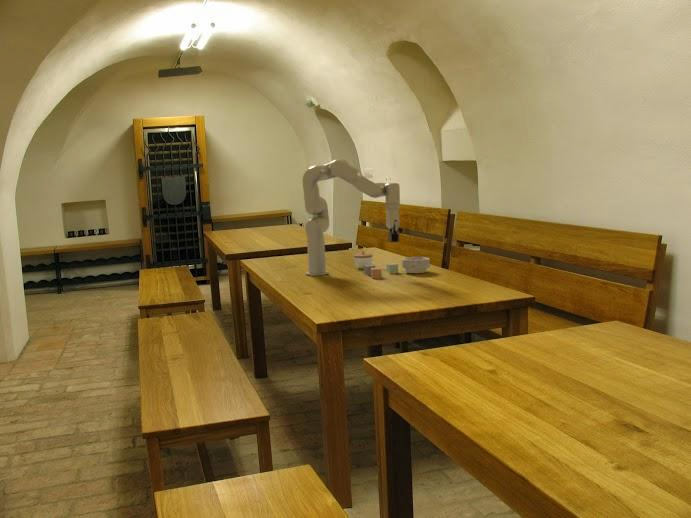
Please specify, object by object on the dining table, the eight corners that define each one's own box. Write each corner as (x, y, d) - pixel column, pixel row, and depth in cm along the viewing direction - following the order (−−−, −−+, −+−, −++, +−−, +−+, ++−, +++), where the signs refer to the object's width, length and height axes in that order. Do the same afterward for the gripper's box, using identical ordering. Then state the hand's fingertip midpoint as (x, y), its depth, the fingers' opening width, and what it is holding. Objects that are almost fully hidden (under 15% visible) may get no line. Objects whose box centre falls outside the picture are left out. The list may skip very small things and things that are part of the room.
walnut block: (387, 241, 378) (387, 231, 378) (396, 240, 379) (396, 231, 379) (390, 242, 374) (390, 232, 373) (399, 241, 374) (399, 232, 374)
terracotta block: (371, 277, 380) (371, 267, 379) (380, 276, 380) (380, 267, 379) (372, 278, 375) (371, 269, 374) (381, 278, 375) (381, 269, 374)
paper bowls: (422, 269, 398) (422, 255, 397) (434, 273, 384) (434, 259, 382) (397, 271, 393) (397, 257, 392) (408, 276, 379) (408, 261, 378)
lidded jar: (376, 267, 411) (375, 251, 410) (366, 270, 402) (366, 253, 401) (360, 265, 417) (360, 250, 415) (350, 268, 408) (350, 252, 406)
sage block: (386, 272, 392) (386, 263, 391) (395, 271, 393) (394, 262, 393) (389, 274, 387) (389, 264, 386) (398, 273, 389) (398, 264, 388)
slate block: (363, 274, 389) (363, 265, 388) (371, 273, 391) (371, 264, 390) (367, 275, 384) (366, 266, 384) (375, 274, 386) (375, 265, 386)
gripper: (381, 205, 381) (382, 239, 384) (390, 208, 365) (391, 243, 367) (395, 205, 383) (395, 238, 385) (404, 207, 366) (405, 242, 369)
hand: (393, 240), depth 376 cm, fingers closed on walnut block, 5 cm apart
